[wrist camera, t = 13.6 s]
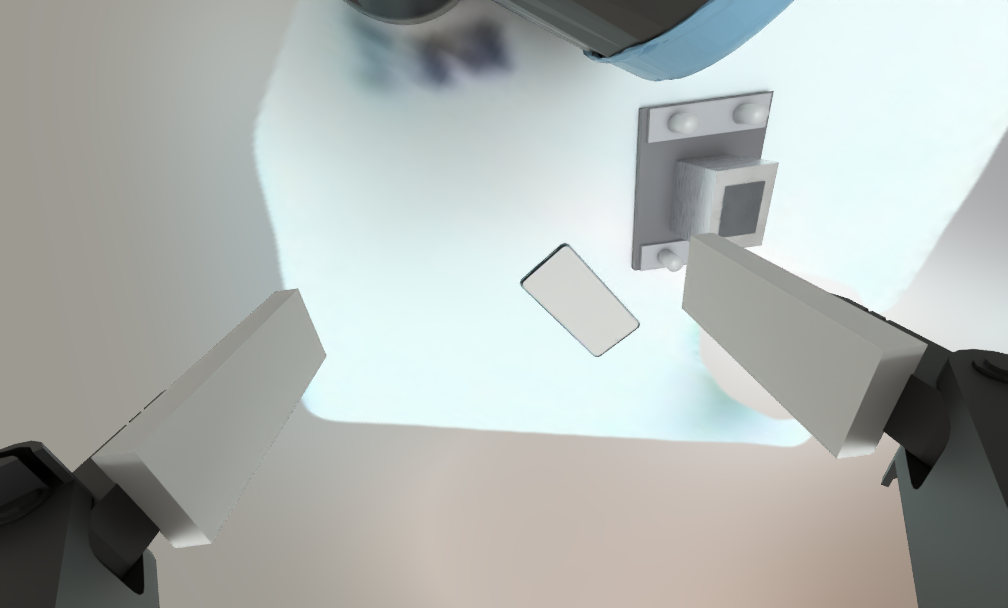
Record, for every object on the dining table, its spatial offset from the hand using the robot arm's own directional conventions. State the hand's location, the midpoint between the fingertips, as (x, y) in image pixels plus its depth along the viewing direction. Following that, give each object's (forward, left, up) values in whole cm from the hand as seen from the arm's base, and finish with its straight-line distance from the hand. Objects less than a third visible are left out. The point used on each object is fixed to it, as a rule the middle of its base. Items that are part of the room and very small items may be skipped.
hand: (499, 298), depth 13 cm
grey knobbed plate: (+4, +21, -27) cm, 34 cm away
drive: (+4, +21, -26) cm, 34 cm away
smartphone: (+16, +9, -27) cm, 33 cm away
